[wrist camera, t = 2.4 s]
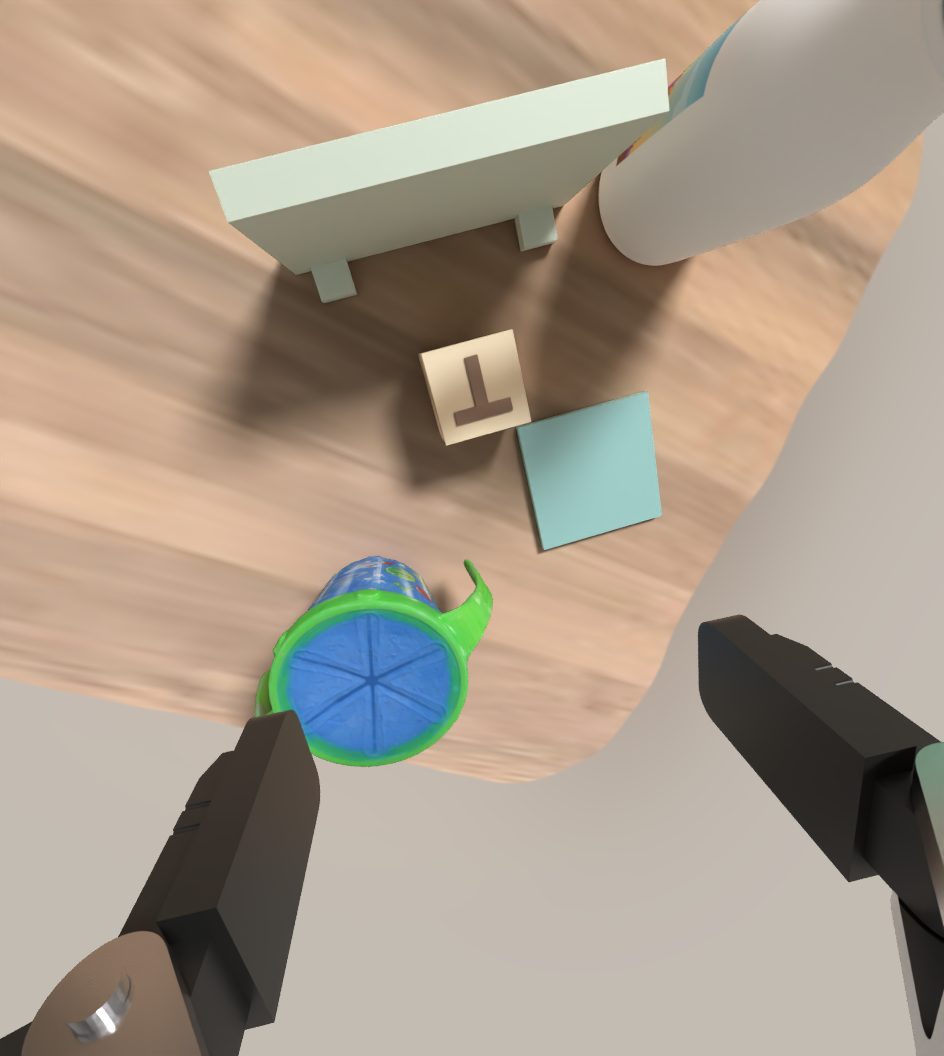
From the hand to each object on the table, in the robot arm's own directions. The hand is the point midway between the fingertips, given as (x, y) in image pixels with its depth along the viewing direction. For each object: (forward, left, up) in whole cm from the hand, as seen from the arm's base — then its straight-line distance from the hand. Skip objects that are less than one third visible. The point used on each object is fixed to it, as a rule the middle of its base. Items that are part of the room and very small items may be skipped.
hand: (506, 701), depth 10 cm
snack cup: (+9, -6, -25) cm, 27 cm away
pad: (+4, +11, -25) cm, 27 cm away
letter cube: (-4, +4, -25) cm, 25 cm away
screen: (-13, +4, -25) cm, 28 cm away
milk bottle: (-11, +17, -25) cm, 32 cm away
